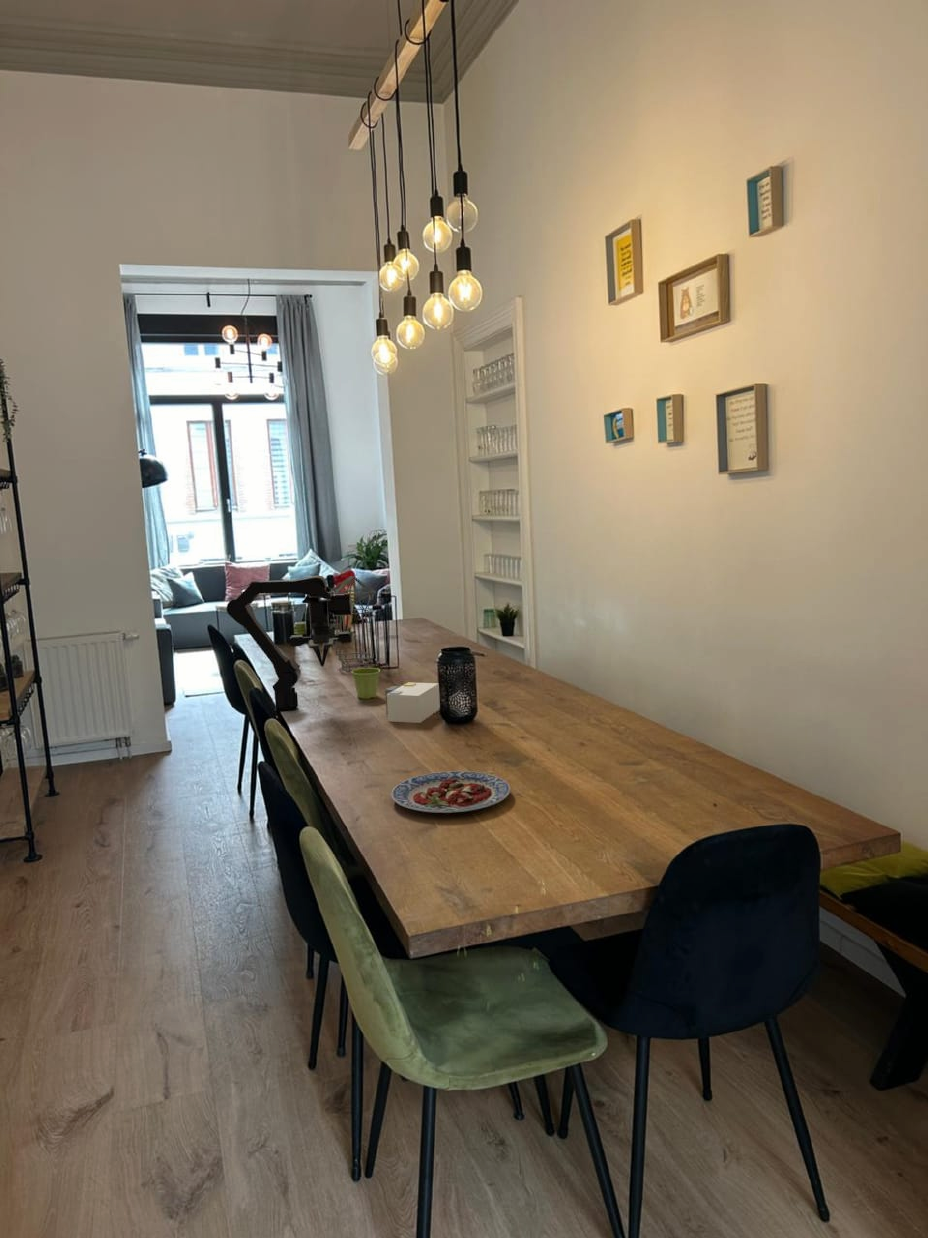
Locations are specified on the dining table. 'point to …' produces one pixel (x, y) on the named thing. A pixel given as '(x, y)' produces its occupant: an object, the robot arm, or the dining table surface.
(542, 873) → the dining table surface
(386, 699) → the plug
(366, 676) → the plant pot
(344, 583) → the geometric lantern
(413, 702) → the port box
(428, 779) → the ceramic plate
